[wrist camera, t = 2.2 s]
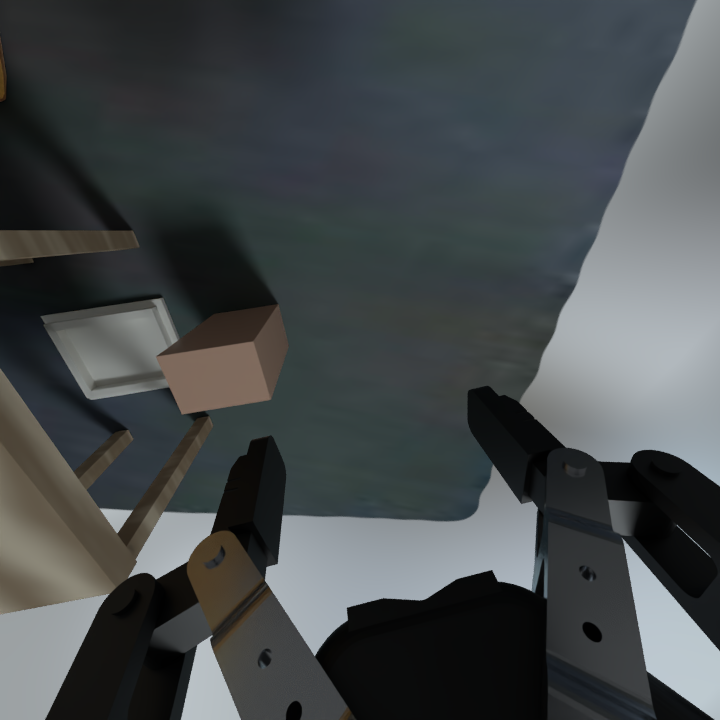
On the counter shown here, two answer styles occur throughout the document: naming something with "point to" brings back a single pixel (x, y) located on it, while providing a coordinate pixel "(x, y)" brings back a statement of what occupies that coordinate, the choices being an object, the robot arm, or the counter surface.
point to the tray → (114, 346)
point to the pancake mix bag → (2, 76)
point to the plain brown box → (227, 360)
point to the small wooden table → (68, 477)
